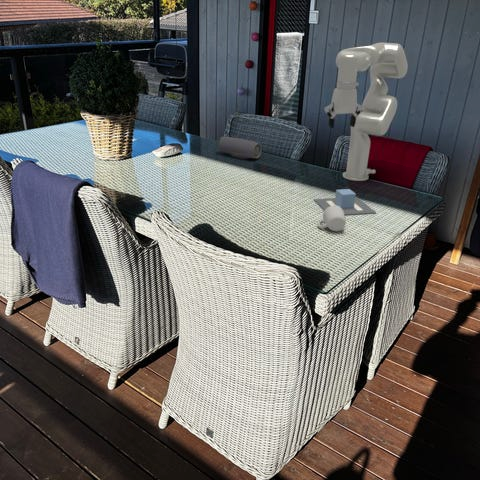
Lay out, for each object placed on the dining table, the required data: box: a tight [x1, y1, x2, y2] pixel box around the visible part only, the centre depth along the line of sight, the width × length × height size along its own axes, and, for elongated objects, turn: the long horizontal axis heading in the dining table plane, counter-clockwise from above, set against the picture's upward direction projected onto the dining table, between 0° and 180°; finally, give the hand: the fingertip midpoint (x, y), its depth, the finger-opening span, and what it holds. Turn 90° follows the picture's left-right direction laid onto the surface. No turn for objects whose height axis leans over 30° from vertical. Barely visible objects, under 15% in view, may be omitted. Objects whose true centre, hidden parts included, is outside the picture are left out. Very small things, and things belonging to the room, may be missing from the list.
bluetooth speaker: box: [217, 136, 263, 160], centre depth 262 cm, size 23×9×10 cm, turn 58°
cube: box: [334, 188, 357, 208], centre depth 200 cm, size 6×6×6 cm
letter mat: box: [313, 196, 377, 217], centre depth 202 cm, size 20×18×1 cm
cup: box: [317, 206, 347, 232], centre depth 180 cm, size 11×8×8 cm
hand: (341, 126), depth 207 cm, fingers open, 9 cm apart
